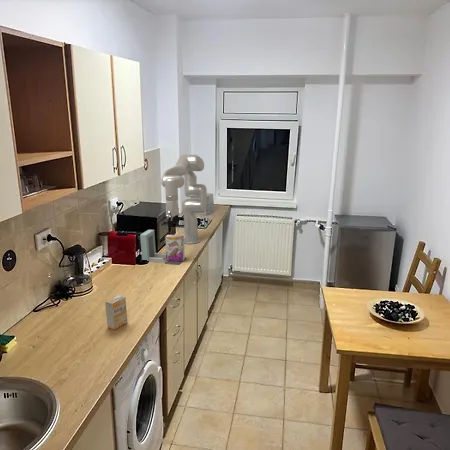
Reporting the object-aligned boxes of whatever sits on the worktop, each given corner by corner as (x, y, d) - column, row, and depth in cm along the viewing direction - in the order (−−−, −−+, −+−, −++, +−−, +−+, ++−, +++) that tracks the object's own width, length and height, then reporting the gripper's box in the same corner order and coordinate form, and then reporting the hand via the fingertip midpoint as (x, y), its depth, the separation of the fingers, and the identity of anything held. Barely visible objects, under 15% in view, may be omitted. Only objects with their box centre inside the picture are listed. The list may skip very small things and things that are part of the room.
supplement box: (114, 330, 183) (112, 303, 179) (107, 327, 185) (104, 301, 182) (128, 322, 189) (125, 296, 186) (120, 319, 192) (118, 294, 188)
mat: (172, 257, 271) (172, 256, 271) (186, 258, 269) (186, 257, 269) (165, 263, 260) (165, 263, 260) (179, 265, 258) (179, 264, 258)
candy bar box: (166, 261, 263) (164, 236, 259) (168, 258, 268) (166, 234, 263) (183, 262, 261) (181, 237, 257) (185, 259, 266) (183, 235, 262)
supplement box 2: (214, 212, 386) (213, 193, 381) (206, 215, 375) (205, 196, 370) (199, 210, 394) (198, 191, 389) (190, 213, 384) (190, 194, 379)
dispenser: (150, 255, 276) (148, 229, 271) (171, 257, 271) (170, 231, 267) (142, 261, 265) (140, 234, 260) (164, 263, 260) (162, 236, 255)
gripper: (171, 194, 262) (173, 220, 267) (160, 200, 246) (162, 228, 251) (182, 195, 260) (184, 221, 265) (172, 201, 244) (173, 229, 249)
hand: (173, 224), depth 258 cm, fingers open, 9 cm apart
